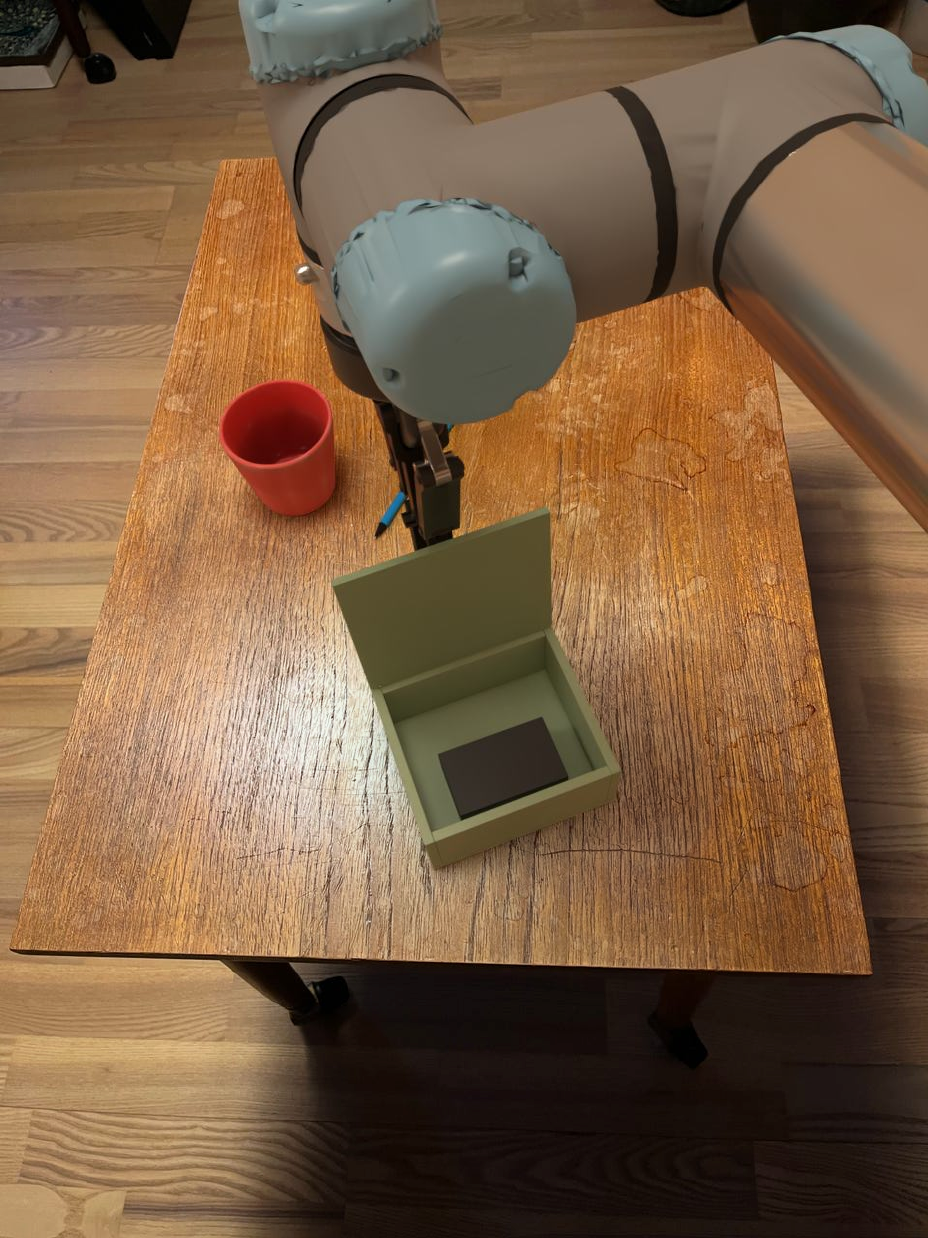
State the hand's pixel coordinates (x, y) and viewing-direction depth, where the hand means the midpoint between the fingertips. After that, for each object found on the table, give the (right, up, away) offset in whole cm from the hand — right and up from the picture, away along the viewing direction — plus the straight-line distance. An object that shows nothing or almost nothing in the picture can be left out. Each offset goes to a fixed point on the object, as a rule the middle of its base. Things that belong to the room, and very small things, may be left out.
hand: (435, 556), depth 67 cm
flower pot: (-15, +9, +26) cm, 31 cm away
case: (+5, -16, +9) cm, 19 cm away
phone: (+5, -18, +7) cm, 20 cm away
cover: (+1, -4, 0) cm, 4 cm away
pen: (-2, +10, +26) cm, 28 cm away
